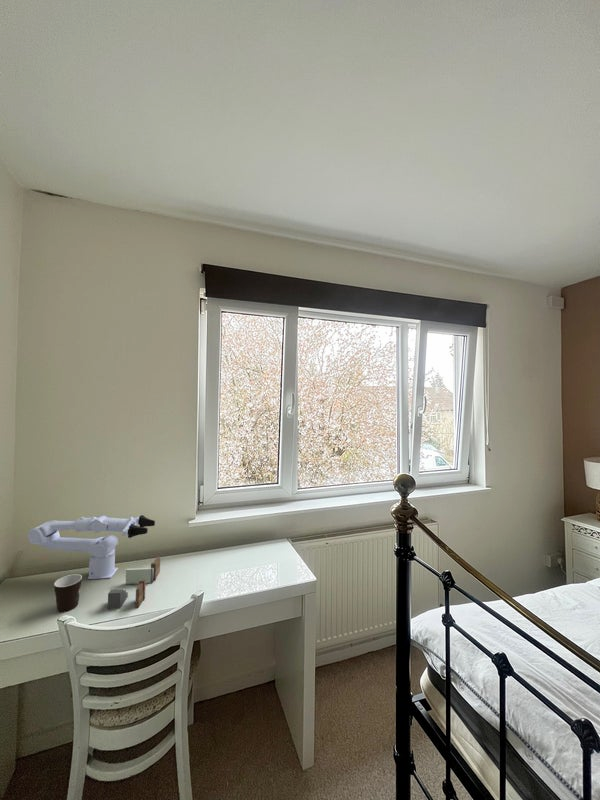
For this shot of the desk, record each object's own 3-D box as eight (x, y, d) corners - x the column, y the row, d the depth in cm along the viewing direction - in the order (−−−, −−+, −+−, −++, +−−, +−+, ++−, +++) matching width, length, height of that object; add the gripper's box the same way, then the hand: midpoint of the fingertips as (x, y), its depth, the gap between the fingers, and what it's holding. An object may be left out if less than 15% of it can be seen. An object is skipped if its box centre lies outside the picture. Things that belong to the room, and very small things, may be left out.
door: (153, 581, 138) (153, 567, 138) (152, 582, 137) (153, 568, 137) (126, 582, 137) (126, 568, 137) (125, 584, 136) (125, 569, 136)
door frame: (134, 607, 121) (134, 587, 121) (156, 571, 146) (156, 555, 146) (139, 607, 121) (140, 587, 121) (160, 571, 146) (161, 555, 146)
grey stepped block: (120, 608, 120) (120, 592, 120) (107, 609, 120) (108, 593, 120) (127, 597, 127) (128, 582, 127) (116, 597, 127) (116, 582, 127)
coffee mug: (72, 614, 117) (73, 586, 117) (47, 614, 116) (48, 587, 116) (90, 594, 128) (91, 569, 128) (68, 595, 128) (68, 570, 128)
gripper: (111, 523, 136) (144, 525, 137) (128, 510, 151) (158, 511, 151) (111, 539, 137) (143, 541, 137) (128, 524, 151) (157, 526, 152)
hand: (151, 527), depth 144 cm, fingers open, 7 cm apart
